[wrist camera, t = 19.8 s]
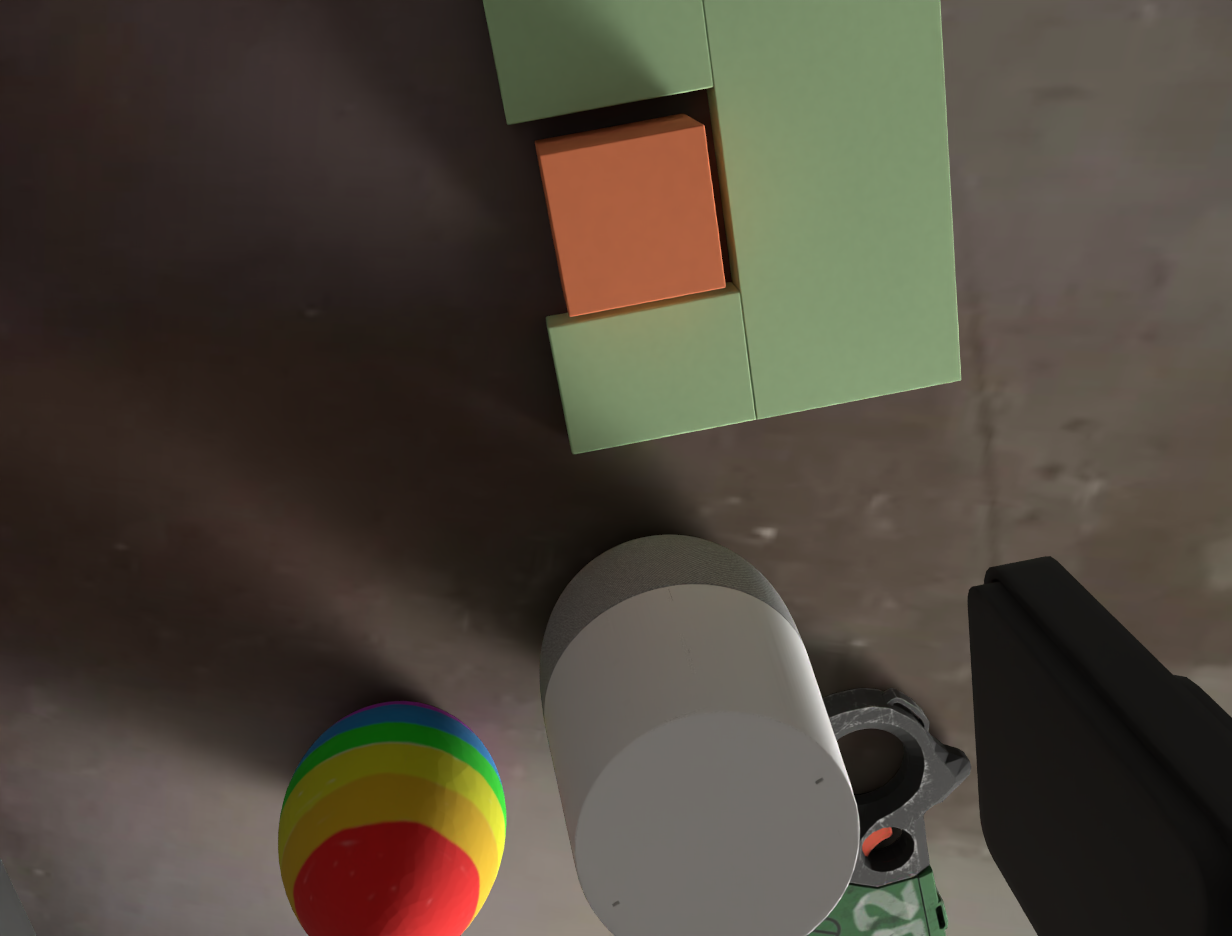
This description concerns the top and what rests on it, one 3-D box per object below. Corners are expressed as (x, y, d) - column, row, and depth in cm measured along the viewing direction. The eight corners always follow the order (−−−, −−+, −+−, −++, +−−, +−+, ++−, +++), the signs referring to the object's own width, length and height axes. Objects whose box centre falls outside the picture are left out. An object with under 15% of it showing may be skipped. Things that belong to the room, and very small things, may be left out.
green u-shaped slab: (476, -35, 36) (475, -37, 34) (917, -115, 36) (934, -120, 35) (569, 440, 42) (572, 455, 40) (946, 368, 42) (962, 380, 41)
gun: (1009, 977, 52) (794, 1037, 52) (996, 953, 53) (786, 1012, 53) (959, 680, 46) (715, 748, 46) (946, 661, 47) (709, 727, 47)
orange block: (534, 140, 38) (538, 155, 34) (684, 113, 38) (704, 124, 34) (562, 288, 40) (569, 317, 36) (704, 261, 40) (726, 287, 36)
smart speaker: (696, 464, 43) (783, 664, 30) (819, 638, 46) (946, 886, 33) (488, 601, 44) (484, 850, 31) (622, 761, 47) (670, 1046, 34)
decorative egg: (351, 869, 48) (317, 1075, 39) (261, 715, 45) (200, 899, 35) (535, 801, 47) (545, 993, 38) (457, 642, 44) (447, 808, 35)
